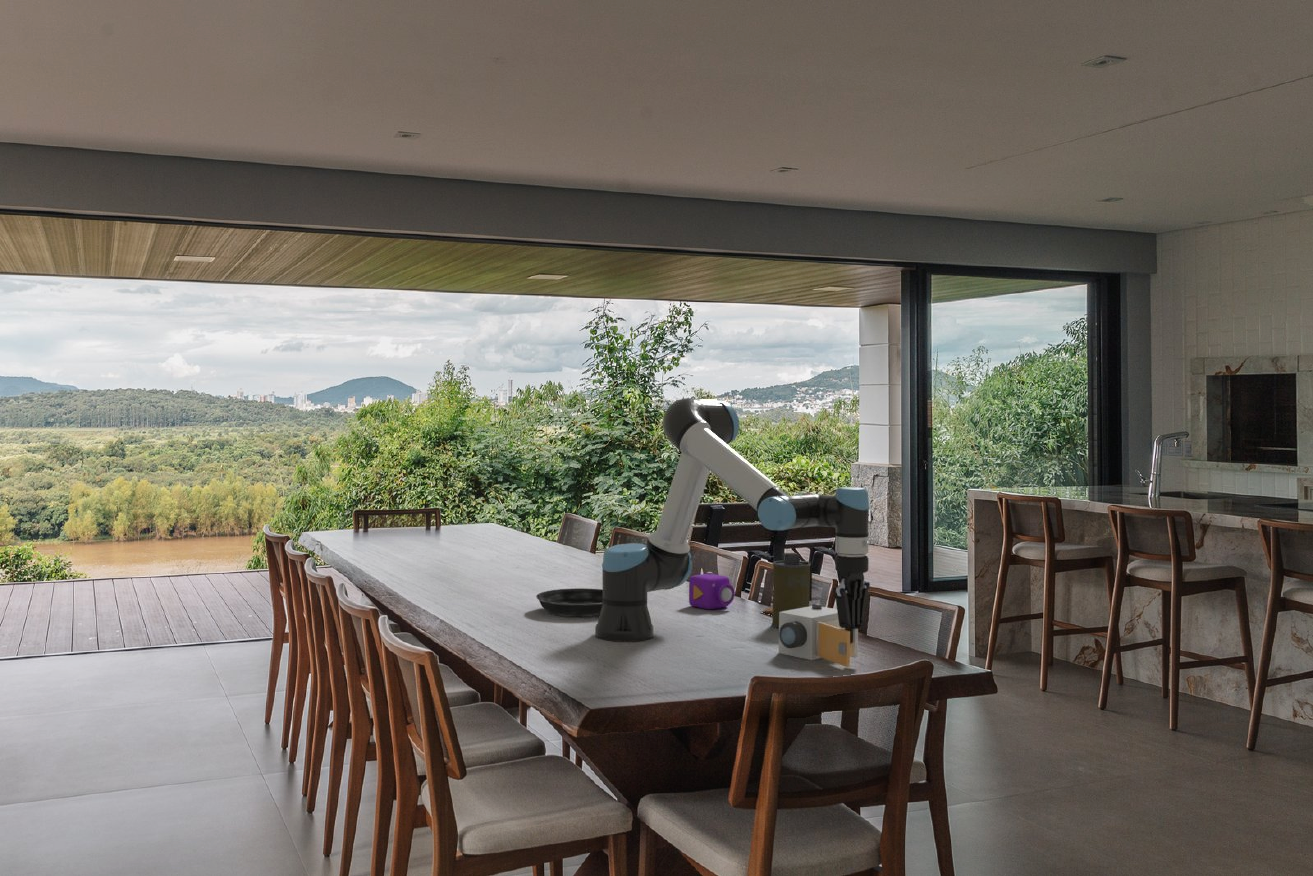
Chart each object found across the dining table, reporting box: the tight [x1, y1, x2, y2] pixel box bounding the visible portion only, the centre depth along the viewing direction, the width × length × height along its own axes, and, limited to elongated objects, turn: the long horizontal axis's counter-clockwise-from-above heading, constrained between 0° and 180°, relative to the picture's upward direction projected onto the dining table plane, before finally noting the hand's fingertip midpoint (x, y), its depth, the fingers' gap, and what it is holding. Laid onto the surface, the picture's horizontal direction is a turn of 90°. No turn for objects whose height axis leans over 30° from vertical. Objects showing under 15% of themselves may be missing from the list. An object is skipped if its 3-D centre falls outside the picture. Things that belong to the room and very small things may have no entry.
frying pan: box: [535, 587, 603, 618], centre depth 316 cm, size 44×25×7 cm, turn 137°
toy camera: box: [688, 571, 735, 610], centre depth 319 cm, size 11×14×10 cm
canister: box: [771, 552, 813, 629], centre depth 293 cm, size 11×10×20 cm
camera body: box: [778, 603, 845, 661], centre depth 259 cm, size 17×10×11 cm, turn 134°
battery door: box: [816, 621, 851, 668], centre depth 247 cm, size 13×2×8 cm, turn 25°
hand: (851, 656), depth 246 cm, fingers closed
